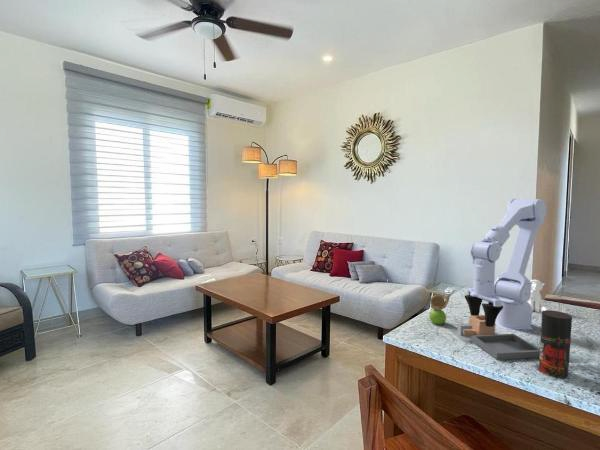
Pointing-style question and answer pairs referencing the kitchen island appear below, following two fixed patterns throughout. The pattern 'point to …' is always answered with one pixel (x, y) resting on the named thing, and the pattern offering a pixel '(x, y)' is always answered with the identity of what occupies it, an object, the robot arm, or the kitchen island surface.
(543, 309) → the white creature statuette
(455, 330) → the slate board
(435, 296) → the green base glass goblet
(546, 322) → the deodorant
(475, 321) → the orange hollow square box
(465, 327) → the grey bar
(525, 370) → the kitchen island surface
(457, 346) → the kitchen island surface
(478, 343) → the tray
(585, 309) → the kitchen island surface
